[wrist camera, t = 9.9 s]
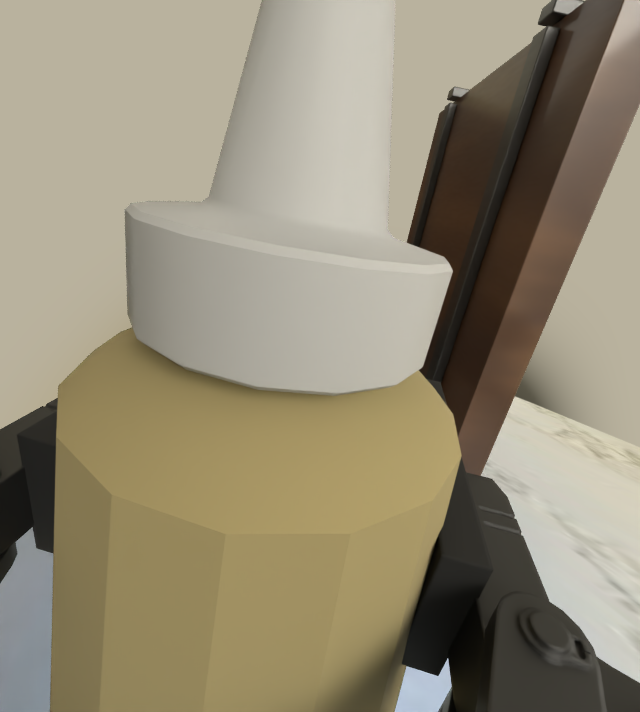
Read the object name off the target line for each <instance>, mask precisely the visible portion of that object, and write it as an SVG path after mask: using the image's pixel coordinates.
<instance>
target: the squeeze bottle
mask: <svg viewBox="0 0 640 712" xmlns="http://www.w3.org/2000/svg"><path fill="white" fill-rule="evenodd" d="M394 30H395V0H262V2H261V6H260V9H259V13H258V17H257V21H256V24H255V28H254V32H253V35H252V39H251V43H250V46H249V50H248V54H247V57H246V61H245V65H244V69H243V72H242V76H241V80H240V83H239V87H238V91H237V94H236V98H235V102H234V106H233V109H232V113H231V116H230V120H229V124H228V128H227V131H226V135H225V139H224V143H223V146H222V150H221V153H220V157H219V161H218V164H217V168H216V172H215V176H214V179H213V183H212V187H211V190H210V194H209V197H208V198H206V199H205V200H203V201H202V202H179V201H175V202H173V201H146V202H137V203H131V204H130V205H129V206H128V207H127V208H126V209H125V236H126V270H127V271H126V272H127V307H128V316H129V319H130V322H131V325H132V328H130V329H127V330H125V331H122V332H120V333H118V334H117V335H116V336H114V337H113V338H111V339H110V340H108V341H107V342H106V343H104V344H103V345H101V346H100V347H98V348H97V349H96V350H94V351H93V352H92V353H91V354H90V355H89V356H88V357H87V358H86V359H85V360H84V361H83V362H82V363H81V364H80V365H79V366H78V367H77V368H76V369H75V370H74V371H73V372H72V373H71V374H70V375H69V376H68V377H67V378H66V379H65V380H64V381H63V382H62V383H61V384H60V385H59V386H58V406H57V429H56V468H55V512H54V557H53V602H52V646H51V691H50V712H394V711H395V708H396V704H397V700H398V696H399V692H400V688H401V685H402V681H403V677H404V673H405V669H406V665H402V660H403V656H404V652H405V647H406V643H407V639H408V635H409V631H410V627H411V624H412V621H413V618H414V614H415V611H416V608H417V604H418V601H419V598H420V594H421V591H422V588H423V584H424V581H425V578H426V574H427V571H428V568H429V565H430V561H431V558H432V555H433V551H434V548H435V545H436V541H437V538H438V535H439V532H440V531H441V529H442V527H443V525H444V521H445V517H446V513H447V509H448V505H449V502H450V498H451V494H452V490H453V486H454V483H455V479H456V475H457V471H458V467H459V464H460V460H461V456H462V455H461V450H460V445H459V440H458V435H457V430H456V425H455V421H454V416H453V413H452V412H451V411H450V409H449V408H448V406H447V405H446V404H445V402H444V401H443V400H442V398H441V397H440V395H439V394H438V393H437V391H436V390H435V388H434V387H433V386H432V385H431V384H430V383H429V382H428V380H427V379H426V378H425V377H424V376H423V375H422V374H421V373H420V371H419V369H421V368H422V367H423V365H424V362H425V358H426V355H427V352H428V349H429V346H430V343H431V339H432V336H433V333H434V330H435V327H436V323H437V320H438V317H439V314H440V311H441V308H442V304H443V301H444V298H445V295H446V292H447V288H448V285H449V282H450V279H451V276H452V273H453V270H452V268H451V266H450V264H449V262H448V261H447V260H446V259H445V257H443V256H440V255H438V254H435V253H432V252H430V251H427V250H424V249H422V248H419V247H417V246H414V245H411V244H409V243H406V242H403V241H401V240H398V239H395V238H393V236H392V235H391V233H390V232H389V230H388V208H389V206H388V205H389V178H390V147H391V119H392V89H393V88H392V87H393V59H394Z"/></svg>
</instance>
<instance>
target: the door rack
mask: <svg viewBox="0 0 640 712" xmlns="http://www.w3.org/2000/svg"><path fill="white" fill-rule="evenodd" d="M538 25H542V26H547V27H545V28H544V29H543V30H542V31H541V32H539V33H538V34H536V35H535V36H534V37H533V40H532V42H531V43H530V44H529V45H528V46H526V47H525V48H524V49H522V50H521V51H520V52H519V53H517V54H516V55H515V56H513V57H512V58H511V59H509V60H508V61H507V62H506V63H504V64H503V65H502V66H500V67H499V68H498V69H496V70H495V71H494V72H493V73H491V74H490V75H489V76H487V77H486V78H485V79H483V80H482V81H481V82H480V83H478V84H477V85H476V86H474V87H473V88H472V89H470V90H468V89H463V88H459V87H453V88H452V89H451V90H450V91H449V94H448V98H447V100H450V101H455V102H454V103H449V104H448V105H447V106H445V109H444V110H443V111H442V112H441V113H440V114H439V118H438V122H437V126H436V130H435V133H434V137H433V141H432V145H431V149H430V153H429V157H428V161H427V165H426V169H425V173H424V177H423V181H422V185H421V189H420V192H419V196H418V200H417V204H416V208H415V212H414V216H413V220H412V224H411V228H410V232H409V236H408V240H407V243H409V244H411V245H414V246H417V247H419V248H422V249H424V250H427V251H430V252H432V253H435V254H438V255H440V256H443V257H445V259H446V260H447V261H448V262H449V264H450V266H451V268H452V270H453V273H452V276H451V279H450V282H449V285H448V288H447V292H446V295H445V298H444V301H443V304H442V308H441V311H440V314H439V317H438V320H437V323H436V327H435V330H434V333H433V336H432V339H431V343H430V346H429V349H428V352H427V355H426V358H425V362H424V365H423V367H422V368H421V369H419V371H420V373H421V374H422V375H423V376H424V377H425V378H426V379H429V380H433V381H437V382H441V386H442V389H443V393H444V396H445V400H446V403H447V406H448V408H449V409H450V411H451V412H452V413H453V416H454V421H455V425H456V430H457V435H458V440H459V445H460V450H461V455H462V460H463V464H464V467H465V471H466V472H467V473H471V474H475V475H479V476H481V473H482V471H483V469H484V466H485V464H486V462H487V459H488V457H489V455H490V452H491V450H492V448H493V445H494V443H495V441H496V438H497V436H498V434H499V431H500V429H501V427H502V424H503V422H504V420H505V417H506V415H507V413H508V410H509V408H510V406H511V403H512V401H513V399H514V396H515V394H516V392H517V389H518V387H519V385H520V382H521V380H522V378H523V375H524V373H525V371H526V368H527V366H528V364H529V361H530V359H531V357H532V354H533V352H534V350H535V347H536V345H537V343H538V341H539V338H540V336H541V334H542V331H543V329H544V327H545V324H546V322H547V319H548V317H549V315H550V313H551V310H552V308H553V305H554V303H555V301H556V299H557V296H558V294H559V292H560V289H561V287H562V285H563V282H564V280H565V278H566V275H567V273H568V271H569V268H570V266H571V264H572V261H573V259H574V257H575V254H576V252H577V250H578V247H579V245H580V243H581V240H582V238H583V236H584V233H585V231H586V229H587V226H588V224H589V222H590V219H591V217H592V215H593V212H594V210H595V208H596V205H597V203H598V201H599V199H600V196H601V194H602V192H603V189H604V187H605V185H606V182H607V180H608V177H609V175H610V173H611V171H612V168H613V166H614V163H615V161H616V159H617V157H618V154H619V152H620V150H621V147H622V145H623V143H624V140H625V138H626V136H627V133H628V131H629V128H630V126H631V124H632V122H633V119H634V117H635V115H636V112H637V110H638V108H639V105H640V0H586V1H582V0H552V1H551V2H549V3H548V4H547V5H546V6H545V7H544V8H543V9H542V12H541V15H540V18H539V21H538Z"/></svg>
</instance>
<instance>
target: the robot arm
mask: <svg viewBox="0 0 640 712" xmlns="http://www.w3.org/2000/svg"><path fill="white" fill-rule="evenodd" d="M427 380H428V382H429V383H430V384H431V385H432V386H433V387H434V388H435V390H436V391H437V393H438V394H439V395H440V397H441V398H442V400H443V401H444V402H445V404H446V405H447V403H446V400H445V396H444V393H443V389H442V386H441V382H437V381H433V380H429V379H427ZM57 406H58V398H57V399H55V400H53V401H51V402H49V403H47V404H46V406H45V407H43V406H42V407H40V408H39V409H37V410H35V411H33V412H31V413H29V414H28V415H26V416H24V417H22V418H20V419H18V420H17V421H15V422H13V423H11V424H9V425H8V426H6V427H4V428H2V429H0V583H1V581H2V580H3V578H4V577H5V575H6V574H7V572H8V571H9V569H10V568H11V566H12V565H13V563H14V560H15V558H16V555H17V549H16V543H15V542H16V541H17V540H18V539H19V538H20V537H21V536H23V535H24V534H25V533H26V532H27V531H28V530H30V529H31V528H32V527H33V531H34V537H35V543H36V548H38V549H41V550H44V551H47V552H50V553H53V554H54V512H55V468H56V429H57ZM514 516H515V515H514V512H513V510H512V507H511V505H510V502H509V500H508V498H507V496H506V495H505V494H504V492H503V491H502V490H501V489H500V488H499V487H498V485H497V484H496V483H495V482H494V481H493V480H492V479H490V478H486V477H482V476H479V475H475V474H471V473H467V472H466V471H465V467H464V464H463V460H462V456H461V460H460V464H459V467H458V471H457V475H456V479H455V483H454V486H453V490H452V494H451V498H450V502H449V505H448V509H447V513H446V517H445V521H444V525H443V527H442V529H441V531H440V532H439V535H438V538H437V541H436V545H435V548H434V551H433V555H432V558H431V561H430V565H429V568H428V571H427V574H426V578H425V581H424V584H423V588H422V591H421V594H420V598H419V601H418V604H417V608H416V611H415V614H414V618H413V621H412V624H411V627H410V631H409V635H408V639H407V643H406V647H405V652H404V656H403V660H402V665H406V666H409V667H412V668H415V669H418V670H421V671H424V672H427V673H431V674H434V675H437V676H439V674H440V672H441V670H442V668H443V666H444V664H445V662H446V660H447V658H448V659H449V667H450V675H451V683H452V688H451V689H450V691H449V693H448V695H447V697H446V698H445V700H444V702H443V704H442V706H441V707H440V709H439V711H438V712H640V683H639V682H637V681H635V680H633V679H632V678H630V677H628V676H627V675H625V674H623V673H621V672H620V671H618V670H616V669H615V668H613V667H611V666H610V665H608V664H607V663H605V662H604V661H602V660H601V659H599V658H598V657H596V654H595V652H594V649H593V647H592V645H591V644H590V642H589V641H588V639H587V638H586V636H585V635H584V633H583V632H582V630H581V629H580V628H579V627H578V626H577V625H576V624H575V623H574V622H573V621H572V620H571V619H570V618H569V617H568V616H567V615H566V614H565V613H564V612H563V611H562V610H561V609H559V608H558V607H556V606H555V605H553V604H552V603H550V602H549V599H548V597H547V594H546V592H545V589H544V587H543V584H542V582H541V579H540V577H539V574H538V572H537V569H536V567H535V565H534V562H533V560H532V557H531V555H530V552H529V550H528V547H527V545H526V542H525V540H524V537H523V536H522V535H521V530H520V527H519V525H518V522H517V520H516V519H514Z"/></svg>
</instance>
